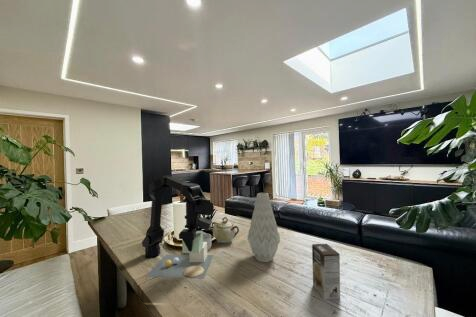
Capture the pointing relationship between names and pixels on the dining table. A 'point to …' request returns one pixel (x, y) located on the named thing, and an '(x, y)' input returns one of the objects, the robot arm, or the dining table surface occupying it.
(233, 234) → the sugar bowl
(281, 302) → the dining table surface
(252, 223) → the vase
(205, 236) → the teacup
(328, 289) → the coffee box
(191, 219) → the robot arm
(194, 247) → the frosted jade cube
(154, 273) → the slate board
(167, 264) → the amber marble
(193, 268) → the tan flat disc
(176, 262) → the pale blue marble
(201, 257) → the ivory cube
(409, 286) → the dining table surface
